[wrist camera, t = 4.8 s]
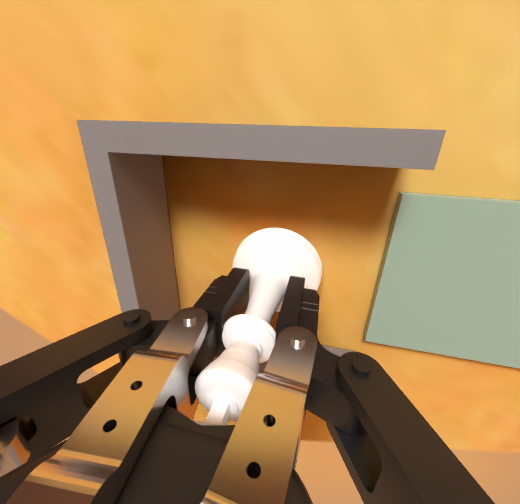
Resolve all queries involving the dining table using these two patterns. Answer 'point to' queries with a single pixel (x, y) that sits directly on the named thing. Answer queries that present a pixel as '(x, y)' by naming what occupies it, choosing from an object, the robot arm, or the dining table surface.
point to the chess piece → (254, 319)
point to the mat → (451, 279)
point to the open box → (211, 146)
